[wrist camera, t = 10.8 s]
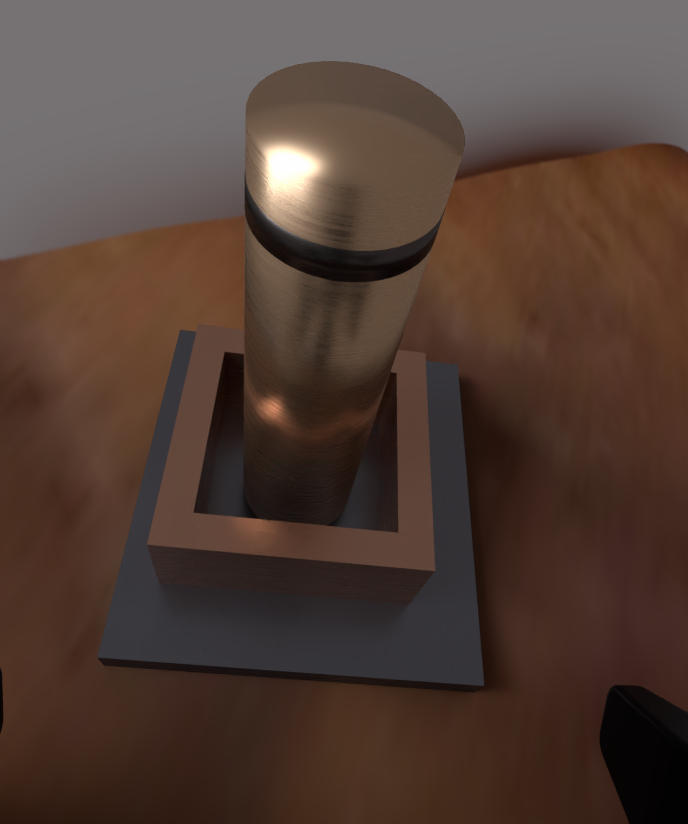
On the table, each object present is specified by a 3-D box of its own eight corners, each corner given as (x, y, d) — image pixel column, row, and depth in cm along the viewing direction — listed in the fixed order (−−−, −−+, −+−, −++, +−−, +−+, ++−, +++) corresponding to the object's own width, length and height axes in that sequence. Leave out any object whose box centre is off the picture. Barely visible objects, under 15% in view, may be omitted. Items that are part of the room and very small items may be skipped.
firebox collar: (473, 692, 19) (523, 663, 16) (103, 665, 18) (74, 628, 14) (450, 379, 26) (482, 313, 22) (182, 346, 24) (174, 272, 21)
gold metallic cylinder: (311, 555, 19) (398, 225, 9) (220, 493, 20) (197, 119, 9) (369, 473, 21) (500, 120, 11) (284, 419, 22) (326, 39, 11)
